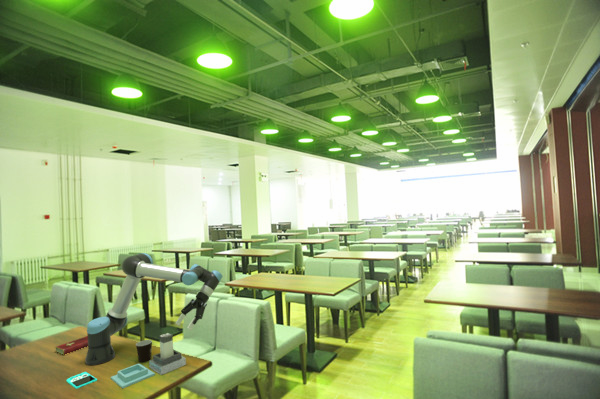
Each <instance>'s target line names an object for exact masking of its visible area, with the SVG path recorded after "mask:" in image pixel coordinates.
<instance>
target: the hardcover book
mask: <svg viewBox="0 0 600 399" xmlns="http://www.w3.org/2000/svg"><path fill="white" fill-rule="evenodd" d="M87 346H88V335H86V336H82V337H80V338H77V339H73V340H70V341H68V342H65V343H62V344H59V345H56V346H54V348H55V352H56V351H57V352H59V353H61V354H60V355H62V354H63V355H64V356H66V355H65V354H67V353H69V354H71V353H70V352H72V353H74V352H73V351H75V352H77V351H76V350H78V351H80V350H82V349H81V348H83V349H85V348H84V347H86V348H88V347H87ZM79 349H80V350H79ZM57 352H56V353H57ZM59 353H58V354H59ZM63 355H62V356H63ZM67 355H68V354H67Z"/></svg>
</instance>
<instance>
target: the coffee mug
mask: <svg viewBox="0 0 600 399" xmlns="http://www.w3.org/2000/svg"><path fill="white" fill-rule="evenodd" d="M152 345H153V340H151V339H145V340H141V341H138V342H136V343H135V348H136V354H137V359H138V362H139V364H143V363H149V360H152V350H153V349H152V347H153V346H152Z"/></svg>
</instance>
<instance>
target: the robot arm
mask: <svg viewBox="0 0 600 399" xmlns="http://www.w3.org/2000/svg"><path fill="white" fill-rule="evenodd" d="M121 270H122V272H123V273H124V274H125V275H126V277H125V278H124V281H123V283H122V285H121V288H120V289H119V292H118V294H117V296H116V299H115V301H114V303H113V306H112V307H111V308H109V309H108V311H107V312H106V315H105V316H100V317H97V318H94V319H92V320H90V321H89V322H88V323H87V325H86V333H87V335H86V336H88V347H87V348H88V350H87V351H86V356H85V360H84V361H85V364H86V365H87V366H97V365H101V364H104V363H108V362H110V361H111V360H113V359H114V358H115V357H116V353H115V352H116V351H115V350H114V348H113V345H112V341H111V340H112V339H111V337H112V336H113V335H115V334H117V333H118V332H120V331H122V330H123V329H124V328H125V327H126V326H127V324H128V312H127V310H128V309H129V307H130V304H131V301H132V300H133V298H134V295H135V293H136V291H137V289H138V287H139V284H140V282H141V279H143V278H145V277H147V278H153V279H159V280H165V281H171V282H178V283H183V285H185V286H192V285H194V284H196V283H197V282H198V281H199V282H202V283H203V285H201V288H200V289H199V291H198V292H197V293H196V295H195V299H194V298H193V299H191V300H190V301H189V302H188V303H187V304H186V305H185V306H184V307H182V309H181V310H180V313H181V314H180V315H179V317H178V319H177V320H175V325H177V326H180V325H181V324H182V322H183V320H185V318H186V316H187V314H188V313H190V312H191V311H193V310H195V315H194V317H193V318H192V320H191V321H190V323H189V324H188V326H187V329H188V330H190V331H192V330H193V329H194V327H195V325H196V324H197V322H198V321H199V320H202V319H203V317H204V313H205V311H206V308H207V305H208V302H209V299H210V297H211V296H212V295H213V293H214V291H215V290H216V288H217V287H218V285H219V284H220V282H221V280H222V278H223V274H222V273H221V272H219V271H218V270H216V269H214V270H212V271H210V270H208V269H207V268H205V267H202V266H201V265H199V264H197V263H194V264H193V265H192V266H191V267H190V269H183V268H178V267H171V266H166V265H160V264H154V261H153V258H152V257H151V255H149V254H148V253H145V252H139V253H138V254H134V255H130V256H127V257H125V259H124V260H123V261H122V263H121Z"/></svg>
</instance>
